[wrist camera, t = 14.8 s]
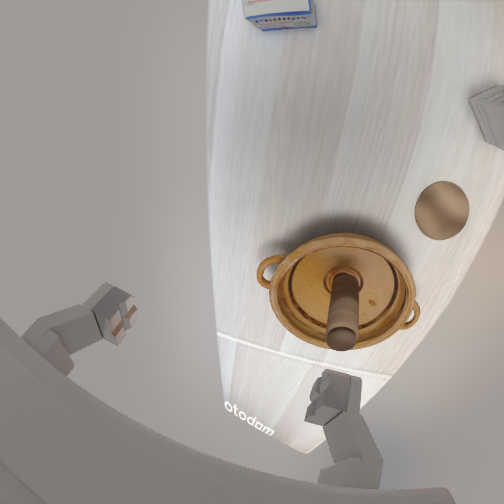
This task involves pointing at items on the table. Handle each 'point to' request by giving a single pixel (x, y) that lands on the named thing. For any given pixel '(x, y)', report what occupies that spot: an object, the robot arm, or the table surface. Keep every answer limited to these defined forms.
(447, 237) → the cork coaster
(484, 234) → the table surface
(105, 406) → the robot arm
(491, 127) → the supplement box
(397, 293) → the ceramic bowl
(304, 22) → the medicine box
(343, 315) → the pepper mill
